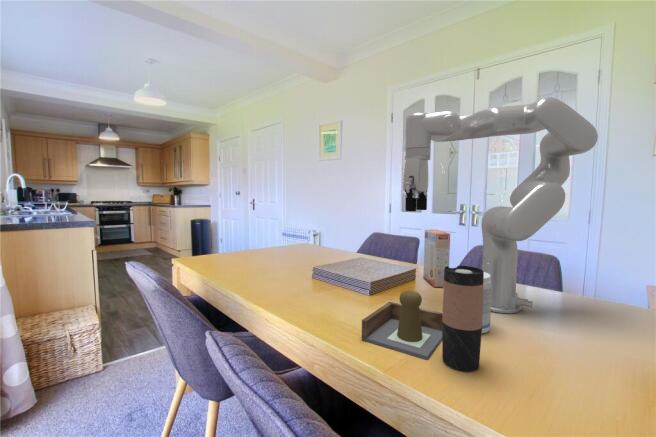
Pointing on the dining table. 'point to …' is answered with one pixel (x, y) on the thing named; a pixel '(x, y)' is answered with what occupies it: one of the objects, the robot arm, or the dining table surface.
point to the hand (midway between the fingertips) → (416, 210)
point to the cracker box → (436, 256)
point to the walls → (397, 318)
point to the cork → (410, 317)
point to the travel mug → (462, 317)
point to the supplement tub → (486, 303)
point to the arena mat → (390, 340)
